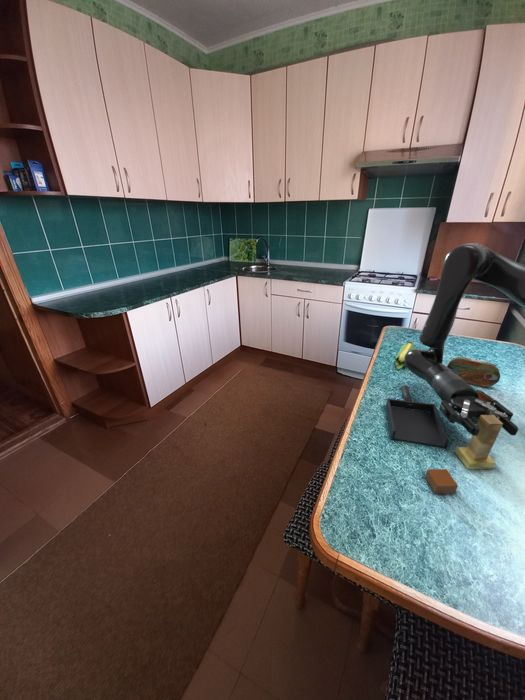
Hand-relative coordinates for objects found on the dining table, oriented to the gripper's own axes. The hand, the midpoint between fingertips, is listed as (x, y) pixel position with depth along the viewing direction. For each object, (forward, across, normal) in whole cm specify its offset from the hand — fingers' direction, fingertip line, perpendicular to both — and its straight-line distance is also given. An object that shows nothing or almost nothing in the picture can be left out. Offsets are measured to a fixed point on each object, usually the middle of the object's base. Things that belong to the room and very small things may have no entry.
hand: (496, 432), depth 64 cm
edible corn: (-53, +5, +11) cm, 55 cm away
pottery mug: (-19, +12, +11) cm, 25 cm away
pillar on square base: (-2, 0, +11) cm, 11 cm away
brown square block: (+4, -12, +11) cm, 17 cm away
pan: (-20, -8, +11) cm, 24 cm away
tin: (-37, +21, +11) cm, 44 cm away
